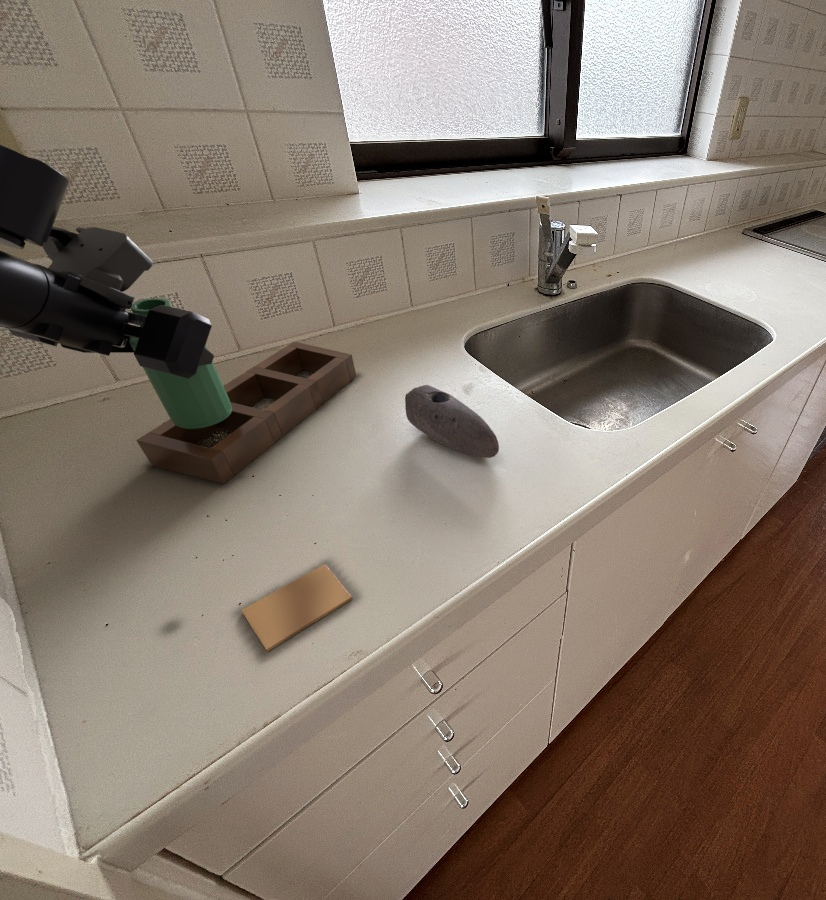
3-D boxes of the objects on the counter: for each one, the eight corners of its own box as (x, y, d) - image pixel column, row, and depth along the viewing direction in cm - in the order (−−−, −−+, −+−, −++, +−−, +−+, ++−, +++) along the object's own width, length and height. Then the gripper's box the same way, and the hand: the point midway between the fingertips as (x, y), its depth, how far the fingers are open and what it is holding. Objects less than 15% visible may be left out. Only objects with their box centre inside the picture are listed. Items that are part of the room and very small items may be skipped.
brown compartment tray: (224, 484, 60) (211, 459, 57) (151, 465, 61) (135, 440, 58) (356, 376, 80) (351, 354, 78) (300, 363, 81) (294, 341, 79)
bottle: (171, 433, 57) (109, 320, 48) (172, 405, 61) (115, 296, 52) (233, 422, 60) (185, 313, 51) (231, 396, 63) (186, 290, 55)
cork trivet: (267, 651, 45) (266, 649, 45) (242, 612, 48) (240, 610, 47) (352, 599, 50) (351, 596, 50) (325, 565, 53) (325, 563, 52)
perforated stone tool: (509, 456, 69) (509, 416, 65) (484, 476, 66) (482, 435, 61) (432, 415, 75) (427, 375, 70) (404, 431, 71) (397, 390, 67)
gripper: (148, 225, 41) (282, 303, 56) (-41, 186, 43) (139, 272, 58) (102, 353, 40) (252, 397, 55) (-89, 307, 42) (107, 361, 57)
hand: (187, 353), depth 56 cm, fingers closed on bottle, 6 cm apart
